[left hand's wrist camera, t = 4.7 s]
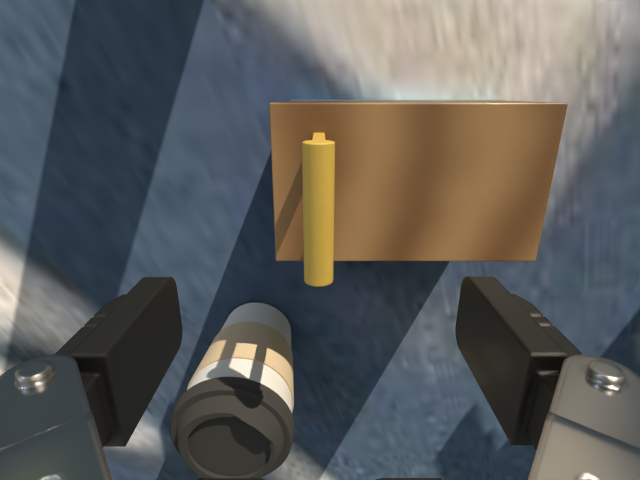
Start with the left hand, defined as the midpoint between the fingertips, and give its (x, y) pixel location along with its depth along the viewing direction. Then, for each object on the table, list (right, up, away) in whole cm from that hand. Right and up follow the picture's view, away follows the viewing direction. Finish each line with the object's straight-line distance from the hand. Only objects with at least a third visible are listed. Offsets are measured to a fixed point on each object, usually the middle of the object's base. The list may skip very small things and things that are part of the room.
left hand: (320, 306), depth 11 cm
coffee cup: (-6, -8, +30) cm, 32 cm away
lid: (+6, +6, +15) cm, 17 cm away
